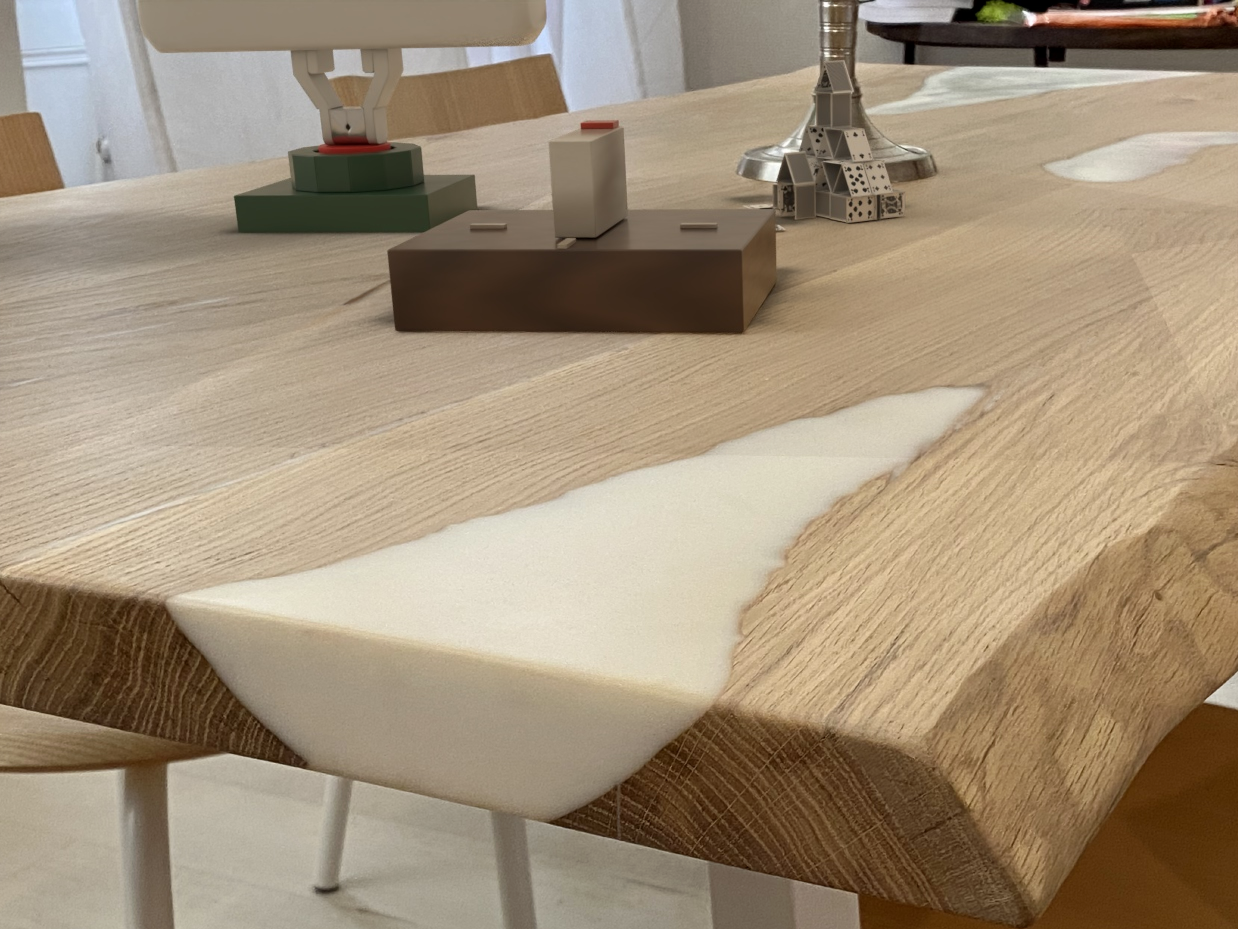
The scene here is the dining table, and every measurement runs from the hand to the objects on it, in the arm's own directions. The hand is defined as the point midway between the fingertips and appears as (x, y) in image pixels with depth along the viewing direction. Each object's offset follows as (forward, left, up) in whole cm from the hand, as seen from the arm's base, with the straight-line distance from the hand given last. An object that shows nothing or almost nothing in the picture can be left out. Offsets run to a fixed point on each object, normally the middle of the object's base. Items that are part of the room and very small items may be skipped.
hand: (356, 143), depth 83 cm
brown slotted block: (+17, -20, -4) cm, 26 cm away
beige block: (+17, -20, -1) cm, 26 cm away
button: (0, 0, -2) cm, 2 cm away
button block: (0, 0, -4) cm, 4 cm away
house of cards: (+22, +4, -4) cm, 23 cm away
